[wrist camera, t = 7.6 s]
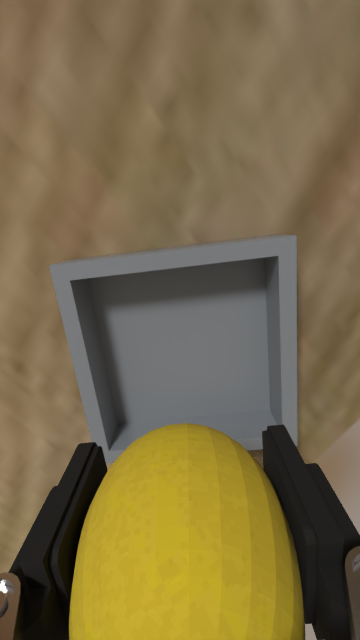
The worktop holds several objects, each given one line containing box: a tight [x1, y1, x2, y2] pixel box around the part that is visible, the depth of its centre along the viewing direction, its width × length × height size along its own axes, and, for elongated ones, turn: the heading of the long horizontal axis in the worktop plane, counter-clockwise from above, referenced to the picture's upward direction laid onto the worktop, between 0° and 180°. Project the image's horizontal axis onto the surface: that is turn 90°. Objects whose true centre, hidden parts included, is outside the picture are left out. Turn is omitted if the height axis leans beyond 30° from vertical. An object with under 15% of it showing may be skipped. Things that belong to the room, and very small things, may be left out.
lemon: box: [69, 423, 305, 640], centre depth 8 cm, size 6×6×8 cm
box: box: [49, 235, 298, 463], centre depth 20 cm, size 14×14×4 cm
